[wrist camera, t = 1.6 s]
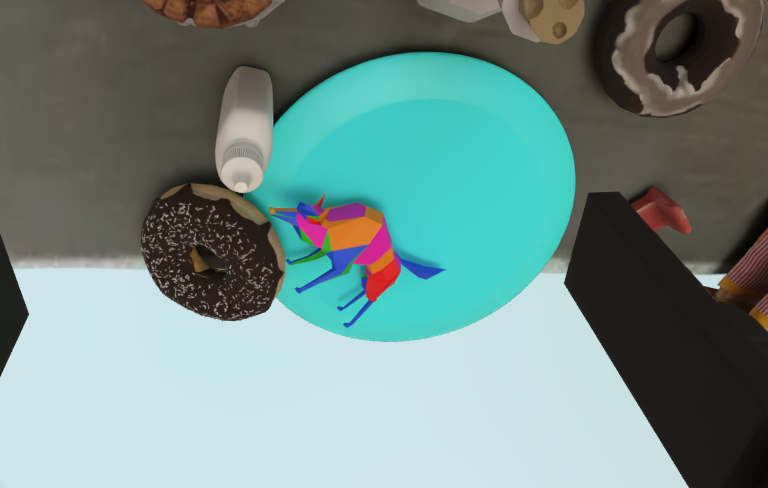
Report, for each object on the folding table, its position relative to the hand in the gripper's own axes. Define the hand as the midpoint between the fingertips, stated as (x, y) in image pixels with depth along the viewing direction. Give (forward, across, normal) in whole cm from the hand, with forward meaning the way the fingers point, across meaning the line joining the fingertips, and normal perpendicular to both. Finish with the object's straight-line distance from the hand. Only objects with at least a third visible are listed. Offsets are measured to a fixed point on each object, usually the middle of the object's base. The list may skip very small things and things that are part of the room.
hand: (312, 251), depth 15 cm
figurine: (+26, +1, -22) cm, 34 cm away
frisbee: (+31, +10, -19) cm, 38 cm away
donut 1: (+30, -5, -20) cm, 37 cm away
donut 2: (+31, +27, -4) cm, 42 cm away
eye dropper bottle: (+32, -3, -9) cm, 33 cm away
